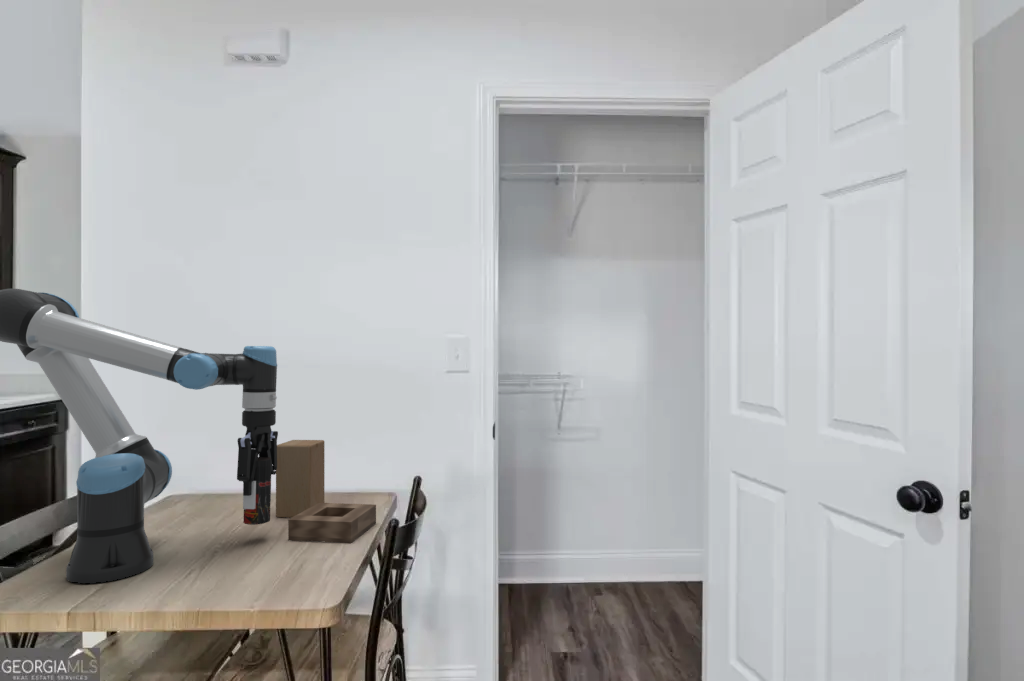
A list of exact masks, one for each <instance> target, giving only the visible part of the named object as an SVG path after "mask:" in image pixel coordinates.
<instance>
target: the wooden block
mask: <svg viewBox="0 0 1024 681" xmlns="http://www.w3.org/2000/svg"><path fill="white" fill-rule="evenodd" d="M275 471H276V474H275V517H276V518H285V517H289V519H291V518H292V517H294V516H296V515H298V514H300V513H301V512H303V511H305V510H307V509H309V508H311V507H312V506H314V505H316V504H318V503H325V440H324V439H291V440H289V441H286V442H282V443H280V444H277V470H275Z"/></svg>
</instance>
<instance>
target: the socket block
mask: <svg viewBox="0 0 1024 681" xmlns="http://www.w3.org/2000/svg"><path fill="white" fill-rule="evenodd" d="M287 521H288V524H287V526H288V527H287V528H288V529H287V530H288V533H287V534H288V535H287V536H288V539H287V540H288V541H289V540H292V542H293V541H296V542H312V541H325V542H324V543H335V542H340V543H339V544H352V543H353V542H354V541H356V540H357V539H359V537H361V536H362V535H363V534H364V533H366V532H367V531H369V530H370V529H371V528H372V527H373V526H375V525H376V524H377V504H368V503H366V504H365V503H364V504H363V503H341V502H338V503H336V502H324V503H318V504H316V505H314V506H312V507H311V508H309V509H307V510H305V511H303V512H301V513H300V514H298V515H296V516H294V517H292V518H289V519H288V520H287Z"/></svg>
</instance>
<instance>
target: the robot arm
mask: <svg viewBox="0 0 1024 681" xmlns="http://www.w3.org/2000/svg"><path fill="white" fill-rule="evenodd" d="M0 342H1V343H6V344H14V345H16V346H17V348H18V349H19V350H20V352H21V353H22V355H23V357H24V358H25V359H26V360H27V361H30V362H35V363H37V364H38V365H39V366H40V368H41V369H42V372H43V373H44V374H45V376H46V377H47V379H48V381H49V382H50V384H51V386H52V387H53V388H54V390H55V392H56V393H57V394H58V396H59V398H60V399H61V401H62V403H63V404H64V406H65V407H66V408H67V410H68V411H69V414H70V415H71V416H72V418H73V420H74V421H75V423H76V425H77V426H78V427H79V429H80V431H81V432H82V434H83V436H84V437H85V439H86V440H87V442H88V443H89V445H90V447H91V448H92V450H93V451H94V453H95V457H94V458H92V459H91V458H90V459H89V460H87V461H85V462H83V463H82V464H81V465H80V467H79V468H78V472H77V480H76V483H75V484H76V499H77V500H76V501H77V503H76V504H77V505H76V506H77V507H76V508H77V509H76V510H77V511H76V512H77V516H76V518H77V519H76V520H77V522H76V527H77V532H76V536H77V537H76V540H75V543H74V546H73V549H72V552H71V556H70V559H69V561H68V563H67V565H66V568H65V569H66V572H65V573H66V575H65V576H66V578H65V579H66V581H68V580H69V581H71V582H70V583H72V582H78V583H77V584H80V583H90V584H97V583H96V582H101V583H106V581H108V582H112V581H113V580H114V581H118V580H122V579H126V578H129V576H130V577H133V576H136V575H138V574H141V573H143V572H145V571H147V570H148V569H150V568H151V567H152V566H153V565H154V551H153V548H151V544H150V542H149V539H148V536H147V533H146V531H145V504H146V503H148V502H149V501H151V500H153V499H155V498H157V497H158V496H160V495H161V494H162V493H163V492H164V490H165V489H166V488H167V487H168V486H169V483H170V481H171V479H172V476H173V475H172V474H173V466H172V463H171V461H170V459H169V457H168V456H167V455H166V454H165V453H164V452H162V451H160V450H157V449H155V448H154V446H153V444H151V442H150V441H149V438H148V437H147V436H145V435H141V434H137V433H136V432H135V431H134V429H133V427H132V426H131V424H130V422H129V421H128V419H127V418H126V415H125V414H124V413H123V411H122V409H121V408H120V406H119V405H118V403H117V402H116V400H115V399H114V397H113V395H112V394H111V392H110V391H109V389H108V387H107V386H106V384H105V382H104V380H102V377H101V375H99V372H98V371H97V370H96V368H95V366H94V365H93V363H92V362H91V360H93V361H96V362H97V361H98V362H99V363H100V362H101V363H104V364H107V365H108V364H109V365H112V366H115V367H118V368H119V367H120V368H123V369H126V370H130V371H134V372H138V373H142V374H145V375H149V376H152V377H154V378H155V377H156V378H160V379H163V380H167V381H170V382H172V383H176V384H179V385H180V386H182V388H185V389H190V390H194V391H195V390H202V389H206V388H208V387H214V386H220V385H221V386H231V385H232V386H234V385H235V386H238V385H239V386H241V385H242V397H241V398H242V399H241V408H242V409H244V410H243V411H242V412H241V425H242V426H243V427H246V430H245V434H244V435H245V436H243V437H238V438H237V446H238V449H237V450H238V451H237V452H238V453H237V469H236V470H237V471H236V480H237V481H238V482H243V484H242V509H243V510H244V509H255V506H256V481H253V480H254V475H255V470H256V461H257V459H258V457H270V458H271V476H272V475H275V476H276V470H277V445H278V443H277V442H278V436H279V431H276V430H272V427H273V426H275V425H276V423H277V422H276V419H277V418H276V417H277V416H276V415H277V414H276V413H277V411H276V409H274V408H276V406H277V404H276V403H277V398H278V397H277V378H278V377H277V375H278V374H277V373H278V370H277V369H278V362H277V361H278V360H277V349H276V347H275V346H271V345H270V346H269V345H257V346H256V345H246V346H244V347H243V351H242V353H236V354H235V353H213V352H212V353H209V352H203V353H202V352H199V351H195V350H192V349H191V350H190V349H187V348H183V347H181V346H177V345H173V344H170V343H166V342H163V341H159V340H157V339H156V340H155V339H152V338H149V337H146V336H142V335H139V334H136V333H132V332H129V331H125V330H122V329H119V328H115V327H111V326H108V325H105V324H101V323H97V322H94V321H92V320H91V321H90V320H87V319H84V318H81V317H80V315H79V313H78V311H77V308H75V306H74V305H73V304H72V303H70V302H69V301H68V300H66V299H64V298H62V297H60V296H58V295H56V294H52V293H48V292H37V291H36V292H35V291H31V290H26V289H22V288H4V289H0ZM90 359H91V360H90ZM270 503H271V501H270ZM140 572H141V573H140ZM135 574H136V575H135ZM132 575H133V576H132ZM125 577H126V578H125ZM117 579H118V580H117ZM69 581H68V582H69Z"/></svg>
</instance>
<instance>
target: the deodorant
mask: <svg viewBox="0 0 1024 681" xmlns="http://www.w3.org/2000/svg"><path fill="white" fill-rule="evenodd" d="M253 481H256V506H255V509H243V520H242V522H243V524H244V525H249V526H252V525H254V526H255V525H263V524H266V523H269V522H270V521H271V502H270V501H271V500H272V499H271V498H272V474H271V458H270V457H259V456H258V459H257V461H256V470H255V475H254V480H253Z"/></svg>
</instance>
